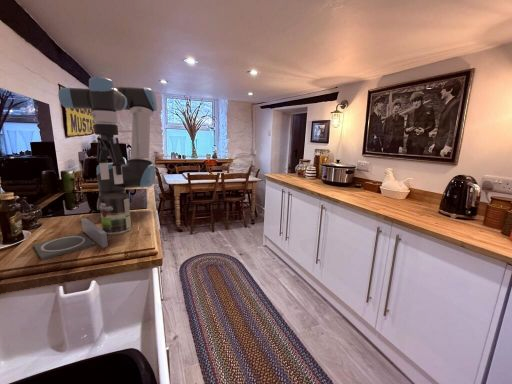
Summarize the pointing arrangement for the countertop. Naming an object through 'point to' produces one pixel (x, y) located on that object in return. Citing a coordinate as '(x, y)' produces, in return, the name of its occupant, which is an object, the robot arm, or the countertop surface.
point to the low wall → (94, 232)
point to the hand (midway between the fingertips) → (111, 181)
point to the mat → (62, 245)
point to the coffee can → (115, 212)
